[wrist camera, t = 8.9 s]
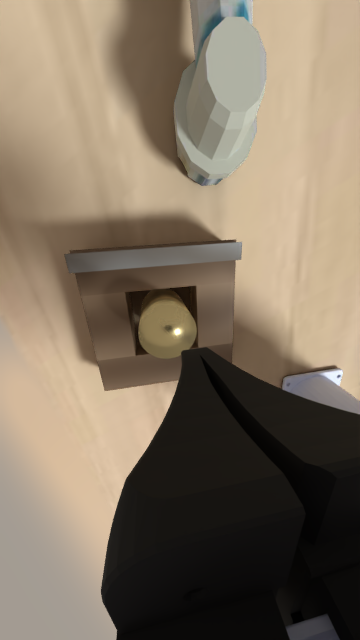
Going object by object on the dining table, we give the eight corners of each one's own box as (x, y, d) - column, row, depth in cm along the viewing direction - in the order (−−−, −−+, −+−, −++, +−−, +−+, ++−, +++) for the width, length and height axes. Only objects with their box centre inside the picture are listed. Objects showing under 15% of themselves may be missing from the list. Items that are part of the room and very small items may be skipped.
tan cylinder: (183, 325, 20) (196, 356, 14) (143, 328, 19) (140, 361, 14) (182, 286, 18) (197, 303, 13) (139, 288, 18) (135, 306, 12)
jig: (220, 356, 22) (235, 378, 18) (111, 371, 20) (102, 399, 17) (222, 241, 17) (241, 238, 14) (83, 250, 16) (63, 250, 12)
